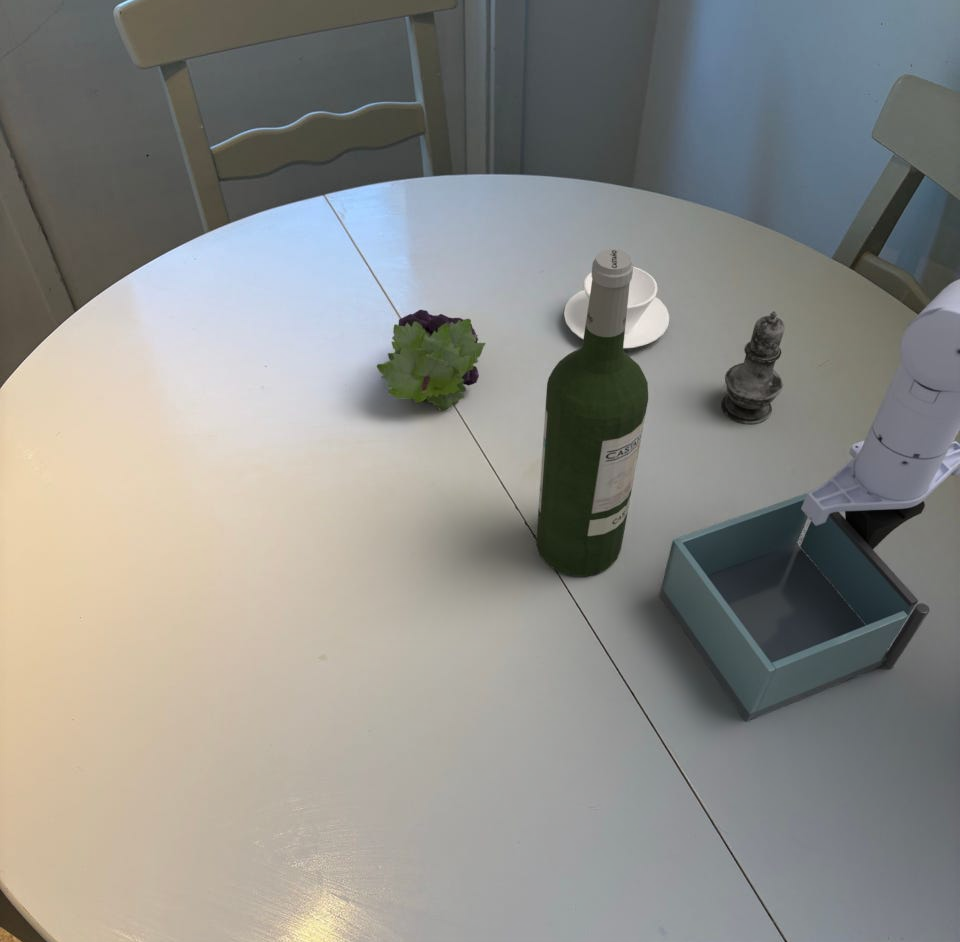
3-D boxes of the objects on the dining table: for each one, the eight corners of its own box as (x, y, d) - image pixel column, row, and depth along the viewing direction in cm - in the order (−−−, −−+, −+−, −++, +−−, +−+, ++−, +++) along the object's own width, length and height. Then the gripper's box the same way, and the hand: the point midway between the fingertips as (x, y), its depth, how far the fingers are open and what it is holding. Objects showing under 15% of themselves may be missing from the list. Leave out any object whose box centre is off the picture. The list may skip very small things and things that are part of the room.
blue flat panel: (902, 640, 77) (930, 595, 72) (884, 648, 77) (911, 603, 72) (816, 540, 84) (837, 493, 79) (799, 546, 83) (819, 499, 78)
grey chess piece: (708, 395, 98) (732, 299, 89) (758, 384, 99) (786, 288, 90) (734, 431, 95) (761, 335, 86) (784, 419, 96) (817, 323, 87)
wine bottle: (614, 585, 83) (666, 301, 59) (528, 569, 84) (545, 284, 60) (626, 521, 87) (678, 234, 64) (544, 507, 88) (566, 220, 65)
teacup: (666, 297, 109) (673, 257, 105) (668, 361, 102) (676, 321, 98) (565, 291, 110) (569, 251, 106) (560, 354, 103) (563, 314, 99)
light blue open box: (896, 666, 77) (932, 610, 71) (749, 727, 74) (774, 674, 67) (794, 545, 85) (819, 485, 79) (658, 594, 82) (673, 536, 76)
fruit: (472, 374, 105) (473, 438, 93) (380, 361, 104) (369, 423, 92) (487, 288, 99) (490, 344, 87) (390, 272, 98) (379, 327, 86)
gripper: (952, 375, 73) (892, 493, 83) (799, 425, 69) (757, 541, 80) (1017, 431, 69) (945, 548, 79) (857, 487, 65) (805, 601, 76)
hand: (854, 549), depth 79 cm, fingers closed
